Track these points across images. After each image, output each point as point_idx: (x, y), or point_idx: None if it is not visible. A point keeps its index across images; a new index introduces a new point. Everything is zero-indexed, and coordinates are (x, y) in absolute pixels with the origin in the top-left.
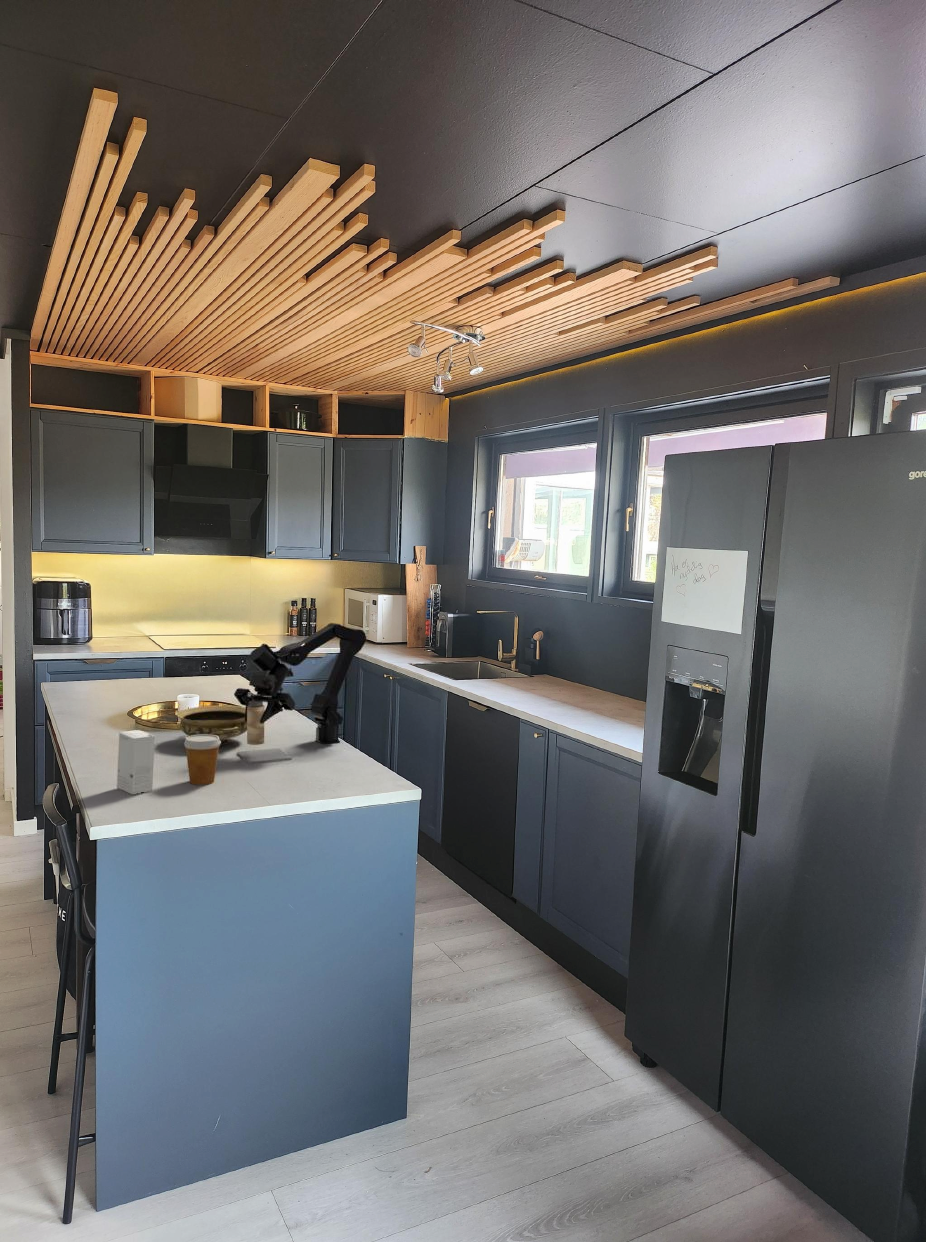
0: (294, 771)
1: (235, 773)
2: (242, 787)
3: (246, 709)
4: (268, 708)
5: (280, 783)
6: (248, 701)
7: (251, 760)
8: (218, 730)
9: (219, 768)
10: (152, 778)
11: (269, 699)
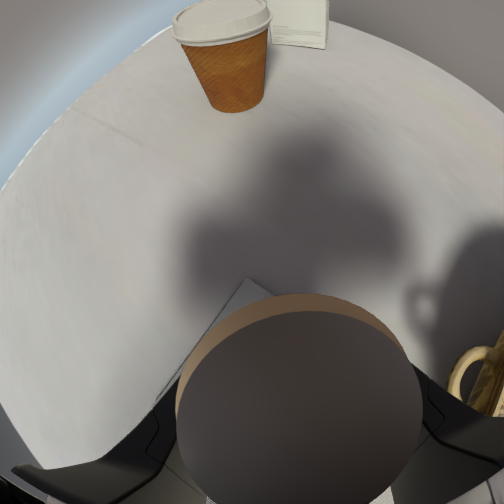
0: (84, 281)
1: (211, 173)
2: (136, 119)
3: (422, 383)
4: (136, 439)
5: (79, 181)
6: (470, 439)
7: (251, 297)
8: (498, 347)
9: (289, 184)
10: (270, 26)
11: (79, 497)
